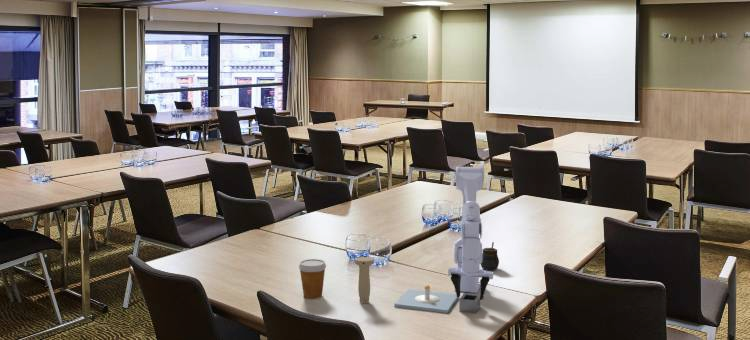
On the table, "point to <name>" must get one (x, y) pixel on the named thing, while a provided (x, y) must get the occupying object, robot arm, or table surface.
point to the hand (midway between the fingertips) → (470, 297)
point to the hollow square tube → (469, 303)
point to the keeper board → (427, 300)
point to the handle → (364, 277)
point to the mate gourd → (490, 258)
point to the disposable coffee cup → (312, 277)
